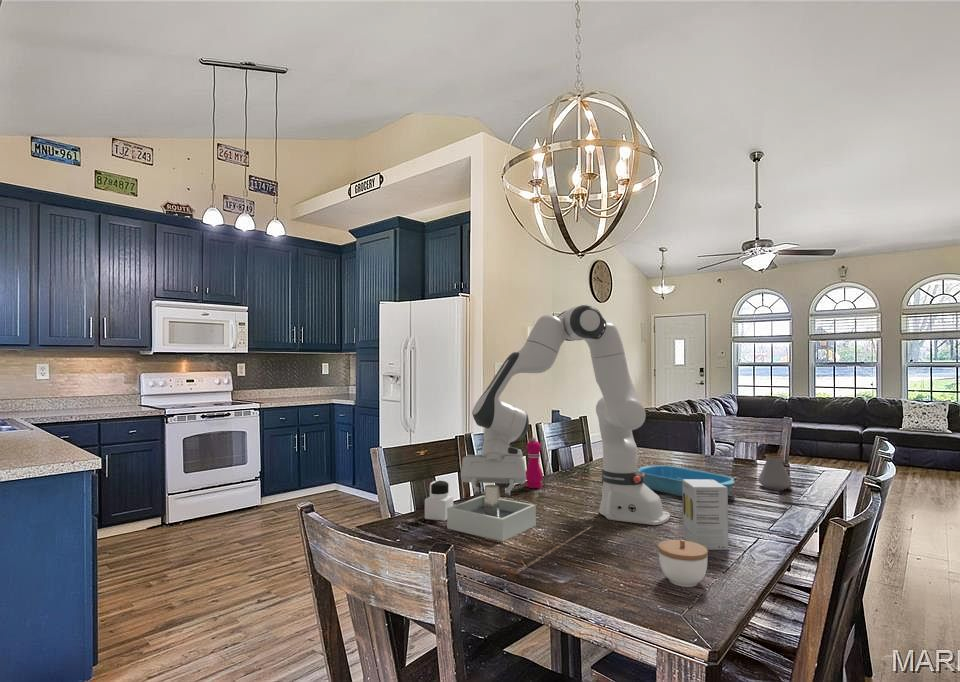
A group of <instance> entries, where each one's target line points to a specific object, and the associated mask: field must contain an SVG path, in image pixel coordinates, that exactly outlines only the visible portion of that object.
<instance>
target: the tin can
mask: <svg viewBox="0 0 960 682" xmlns="http://www.w3.org/2000/svg"><path fill="white" fill-rule="evenodd" d="M484 496H485V515H489V516H494V517H500V516H499V499H500V486H499V485H498V484H486V485H484Z"/></svg>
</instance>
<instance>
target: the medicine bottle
mask: <svg viewBox="0 0 960 682" xmlns="http://www.w3.org/2000/svg"><path fill="white" fill-rule="evenodd" d="M452 506H454V495H452V494H451V495H450V494H449V482H447V481H444V480H433V481H432V482H430V484H429V496H428V497H426V498H425V499H424V519H426V520H435V521H443V522H445V521H447V508H449V507H452Z"/></svg>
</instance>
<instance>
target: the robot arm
mask: <svg viewBox="0 0 960 682" xmlns="http://www.w3.org/2000/svg"><path fill="white" fill-rule="evenodd" d="M620 335H621V334H620V333H619V330H618V328H617V326H616V325H615V324H614V323H611V322H607V321H606V320H605V318H604V317H603V315H602V313H601V312H600V311H599V309H597V307H594V306H592V305H588V304H584V305H583V304H582V305H577V306H574V307H573V306H572V307H570V308H568V309H567V310H565V311H562V312H561V313H560V314H558V315H557V316H555V315H551V314H545V315H541V316H540V317H539V318H538V320H537V321H536V323H535V324H534V326H533V327H532V329H531V331H530V333H529V334H528V337H527V338H526V341H525V343H524V345H523V346H522V348H521V349H520V350H518V351H514V352H512V353H510V355H508V357H507V358H506V359H505V361H504V362H503V363H502V365H501V366H500V368H499V369H498V371H497V372H496V374H495V375H494V377H493V379H492V380H491V382H490V384H489V385H488V386H487V388H486V390H485V391H484V392H483V394H482V395H481V396H480V397H479V398H478V400H477V401H476V403H475V404H474V406H473V409H472V414H471V415H472V417H473V420H474V422H475V424H476V425H477V426H478V427H482V428H484V429H483V443H482V447H481V454H467V455H465V456H463V457H462V460H461V465H462V466H461V470H460V479H461V480H462V482H463V483H471V486H472V487H473V495H480V487H479V486H477V484H479V483H481V484H509V485H508V487H505V488H504V496H511V491H512V490H513V489H514V487H515V485H516V484H517V485H519V484H520V485H523V484H526V483H527V480H526V470H527V469H526V464H525V459H524V458H523V457H524V456H523V452H522V449H520V448H517V447H513V446H510V445H511V443H514V442H516V441H518V440H520V439H522V438H523V437H525V435H526V434H527V432H528V430H529V427H530V423H529V421H530V420H529V415H528V413H527V412H526V411H524V410H523V409H521V408H519V407H516V406H515V405H511V404H509V403H507V402H505V401H503V400H501V399H500V396H501V394H502V393H503V392H504V390H505V389H506V387H507V385H508V384H509V382H510V380H511V379H512V378H513V377H514V376H515V375H517V374H541V373H544V372H547V371H548V370H550V369H551V368H552V366H553V365H554V364H555V361H556V359H557V358H558V354H559V352H560V350H561V346H562V345H563V343H564V342H565V341H567V342H574V341H585V342H586V344H587V346H588V348H589V352H590V358H591V364H592V368H593V372H594V377H595V381H596V384H597V385H598V387H599V389H600V393H601V394H602V397H601V398H600V399H599V400H598V401H597V402H596V404H595V413H596V416H597V419H598V424H599V425H598V426H599V433H600V437H601V442H602V466H603V467H602V470H601V485H602V491H601V500H600V505H599V509H598V513H600V514H601V515H602V516H604V517H605V518H606V519H607V520H610V521H618V522H619V521H620V522H627V523H635V524H643V525H653V526H656V525H657V526H658V525H662V524H666V523H667V522H668V521H669V520H670V519H671V513H670V512H668V511H666V510H663V503H662V498H661V497H660V496H659V495H658V494H657V493H655V491H654V490H652V489H650V488H649V487H647V486H646V485H645V484H644V483H643V477H645V476H644V475H645V474H641V473H640V472H639V471H638V470H639V469H638V446H637V444H636V442H635V438H634V435H633V431H635V430H637V429H639V428H641V427H642V426H643V425H644V423H645V421H646V416H647V415H646V414H647V413H646V410H645V407H644V406H643V404H642V402H641V400H640V398H639V396H638V394H637V393H638V392H637V391H636V389H635V387H634V384H633V381H632V379H631V375H630V371H629V368H628V362H627V357H626V353H625V348H624V344H623V341H622V337H621V336H620Z"/></svg>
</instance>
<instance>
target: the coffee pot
mask: <svg viewBox="0 0 960 682" xmlns="http://www.w3.org/2000/svg"><path fill="white" fill-rule="evenodd" d="M785 448H786V446H784V445H779V448H778V451H777V454H776V453H765V454H764V457H765V458H766V461H765V463H764V466H763V468H762V470H761V472H760V474H759V476H758V479H757V480H758V482H759V484H760V485H762V486H763V488H764V487H765V489H767V488H768V490H772V489H774V490H773V491H785V490H786V489H788V488H789V487H790V486H791V484H792V480H791V478H790V476H789V473H788V472H787V470H786V468H785V466H784V464H783V462H782V460H783V459H784V458H785V456H784V455H782V453H783V451H784V450H785ZM784 489H785V490H784Z"/></svg>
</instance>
